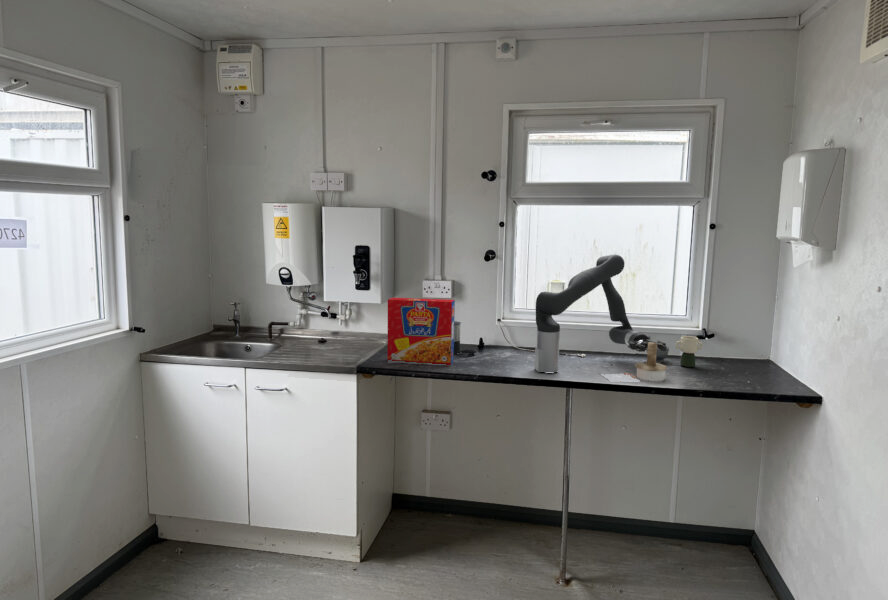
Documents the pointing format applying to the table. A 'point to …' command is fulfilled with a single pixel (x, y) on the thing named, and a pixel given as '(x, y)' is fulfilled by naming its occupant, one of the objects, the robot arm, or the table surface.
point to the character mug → (688, 350)
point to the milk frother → (457, 340)
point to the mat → (630, 375)
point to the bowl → (650, 375)
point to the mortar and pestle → (660, 353)
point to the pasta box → (421, 330)
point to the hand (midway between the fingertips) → (654, 349)
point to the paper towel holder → (651, 360)
